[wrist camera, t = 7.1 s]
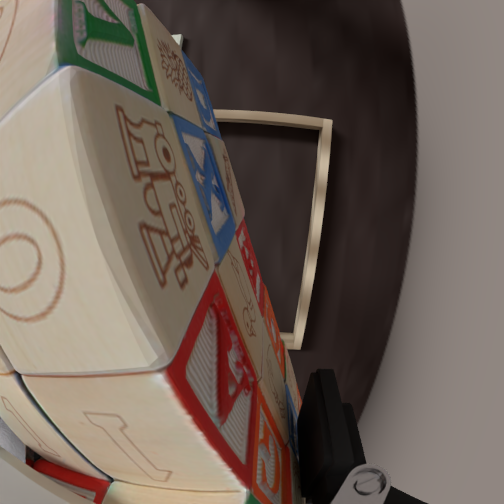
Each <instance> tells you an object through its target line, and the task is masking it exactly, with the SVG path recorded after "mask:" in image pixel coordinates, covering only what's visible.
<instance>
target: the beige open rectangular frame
mask: <svg viewBox="0 0 504 504" xmlns="http://www.w3.org/2000/svg"><path fill="white" fill-rule="evenodd" d="M213 112H214V115H215V118H216V122H240V123H257V124H269V125H280V126H290V127H299V128H307V129H314V130H319V141H318V153H317V164H316V174H315V184H314V194H313V203H312V211H311V220H310V228H309V235H308V243H307V250H306V257H305V264H304V271H303V278H302V284H301V291H300V297H299V303H298V309H297V315H296V320H295V326H294V332H293V333H283V332H279V334H280V337H281V339H283V340H284V342H285V344H286V347H287V349H297V350H300V349H301V344H302V340H303V335H304V330H305V325H306V320H307V315H308V309H309V304H310V298H311V293H312V287H313V281H314V275H315V269H316V263H317V256H318V250H319V243H320V236H321V228H322V221H323V213H324V205H325V196H326V188H327V178H328V168H329V157H330V146H331V133H332V120H329V119H322V118H315V117H308V116H300V115H292V114H282V113H272V112H259V111H241V110H213Z"/></svg>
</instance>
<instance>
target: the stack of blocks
mask: <svg viewBox="0 0 504 504" xmlns="http://www.w3.org/2000/svg"><path fill="white" fill-rule="evenodd" d="M244 213H245V210H244V207H243V204H242V200H241V197H240V193H239V190H238V187H237V183H236V180H235V177H234V173H233V170H232V167H231V164H230V160H229V157H228V154H227V151H226V147H225V144H224V142H223V140H222V139H221V135H220V132H219V128H218V125H217V122H216V118H215V115H214V112H213V109H212V105H211V102H210V99H209V96H208V93H207V90H206V86H205V83H204V80H203V78H202V76H201V74H200V73H199V71H198V70H197V69H196V68H195V67H194V65H193V64H192V62H191V61H190V60H189V59H188V57H187V56H186V54H185V53H184V52H183V51H182V50H181V49H180V46H179V45H178V43H177V42H176V41H175V40H174V38H173V37H172V36H171V35H170V33H169V32H168V31H167V29H166V28H165V27H164V26H163V25H162V23H161V22H160V21H159V20H158V19H157V18H156V16H155V15H154V14H153V13H152V12H151V10H150V9H149V8H148V7H147V6H145V5H144V4H137V5H136V3H135V2H134V0H0V417H1V418H2V419H3V421H4V422H5V423H6V424H7V425H8V427H9V428H10V429H11V430H12V431H13V432H14V433H15V434H16V435H17V437H18V438H19V439H20V440H21V441H22V442H23V443H24V444H26V445H27V446H28V447H29V448H30V449H32V450H33V451H34V452H36V453H37V454H39V455H40V456H42V457H41V458H40V459H38V460H37V461H36V462H35V463H34V467H33V468H34V470H36V471H37V472H39V473H40V474H42V475H43V476H45V477H47V478H48V479H50V480H52V481H53V482H55V483H57V484H58V485H60V486H62V487H64V488H66V489H67V490H69V491H71V492H73V493H75V494H77V495H79V496H81V497H83V498H85V499H87V500H89V501H91V502H94V503H96V504H305V498H302V494H301V478H300V468H299V457H298V437H297V419H298V415H299V412H300V409H301V405H302V401H301V397H300V394H299V390H298V387H297V384H296V380H295V376H294V372H293V368H292V365H291V361H290V358H289V354H288V351H287V347H286V344H285V342H284V340H283V339H281V337H280V334H279V329H278V326H277V323H276V320H275V316H274V313H273V309H272V306H271V303H270V299H269V296H268V292H267V289H266V286H265V285H264V284H263V282H262V278H261V274H260V271H259V267H258V264H257V260H256V257H255V254H254V251H253V247H252V245H251V241H250V237H249V234H248V232H247V228H246V224H245V221H244V219H243V217H244Z"/></svg>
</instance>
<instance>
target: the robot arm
mask: <svg viewBox="0 0 504 504" xmlns="http://www.w3.org/2000/svg"><path fill="white" fill-rule="evenodd" d="M297 437H298V457H299V468H300V478H301V494H302V498H305V504H427V503H425V502H423V501H421V500H419V499H416V498H414V497H412V496H410V495H408V494H406V493H404V492H402V491H400V490H398V489H396V488H394V487H392V486H391V478H390V476H389V474H388V472H387V471H386V470H385V469H383V468H382V467H380V466H378V465H374V464H366V460H365V456H364V452H363V447H362V443H361V439H360V435H359V431H358V427H357V423H356V419H355V415H354V412H353V408H352V405H351V404H350V403H342V402H341V398H340V394H339V390H338V386H337V382H336V378H335V374H334V371H333V369H317V370H316V373H311V375H310V378H309V382H308V385H307V389H306V392H305V395H304V399H303V402H302V405H301V409H300V412H299V415H298V419H297ZM41 457H42V456H40V455H39V454H37V453H36V452H34V451H33V450H32V449H30V448H29V447H28V446H27V445H26V444H24V443H23V442H22V441H21V440H20V439H19V438H18V437H17V435H16V434H15V433H14V432H13V431H12V430H11V429H10V428H9V427H8V425H7V424H6V423H5V422H4V421H3V419H2V418H1V417H0V504H96V503H94V502H91V501H89V500H87V499H85V498H83V497H81V496H79V495H77V494H75V493H73V492H71V491H69V490H67V489H66V488H64V487H62V486H60V485H58V484H57V483H55V482H53V481H52V480H50V479H48V478H47V477H45V476H43V475H42V474H40V473H39V472H37V471H36V470H34V468H33V467H34V463H35V462H36V461H37V460H38V459H40V458H41Z"/></svg>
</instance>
